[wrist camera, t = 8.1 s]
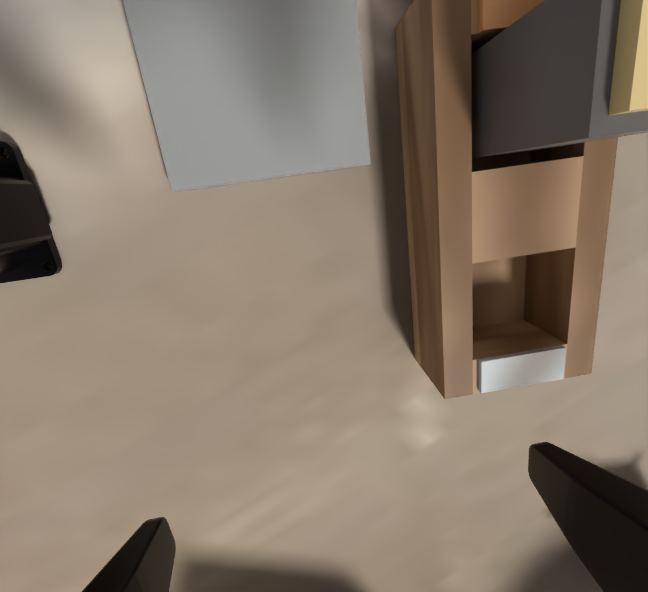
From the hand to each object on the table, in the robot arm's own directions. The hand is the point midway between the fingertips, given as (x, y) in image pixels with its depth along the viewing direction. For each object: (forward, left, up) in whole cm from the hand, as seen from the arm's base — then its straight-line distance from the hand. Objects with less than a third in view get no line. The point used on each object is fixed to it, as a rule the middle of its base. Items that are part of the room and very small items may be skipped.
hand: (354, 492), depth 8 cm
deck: (-1, +13, -13) cm, 18 cm away
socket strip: (+10, +5, -13) cm, 17 cm away
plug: (+10, +9, -12) cm, 18 cm away
